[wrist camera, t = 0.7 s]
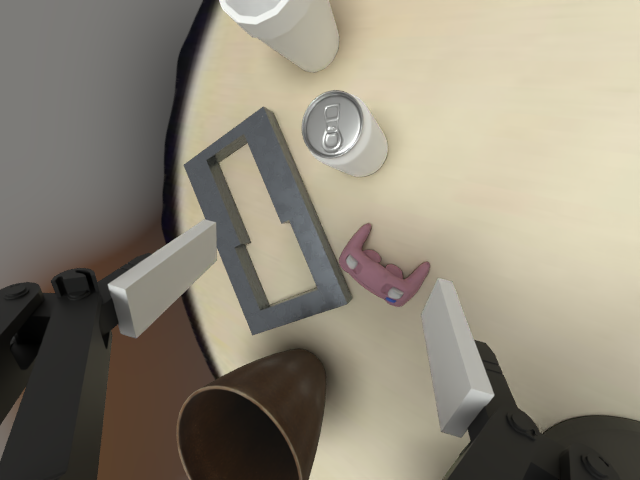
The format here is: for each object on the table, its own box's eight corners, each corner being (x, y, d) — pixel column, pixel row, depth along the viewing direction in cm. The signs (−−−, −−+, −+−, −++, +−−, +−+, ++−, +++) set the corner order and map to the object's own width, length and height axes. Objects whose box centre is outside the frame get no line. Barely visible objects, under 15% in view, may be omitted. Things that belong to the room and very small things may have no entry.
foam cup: (286, 11, 37) (216, -85, 25) (354, -2, 33) (311, -121, 21) (282, 88, 38) (214, 32, 26) (347, 82, 35) (303, 15, 23)
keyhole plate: (352, 298, 37) (347, 304, 35) (261, 328, 43) (252, 335, 41) (273, 112, 39) (263, 106, 36) (196, 167, 45) (183, 164, 43)
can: (338, 178, 36) (298, 166, 25) (337, 127, 36) (296, 91, 25) (388, 175, 34) (368, 160, 23) (388, 121, 33) (368, 77, 22)
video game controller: (353, 242, 38) (327, 269, 33) (366, 217, 35) (339, 243, 30) (416, 285, 36) (397, 321, 31) (436, 263, 33) (418, 299, 28)
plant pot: (246, 373, 46) (158, 452, 31) (285, 303, 41) (205, 356, 27) (319, 438, 42) (258, 564, 27) (370, 369, 38) (332, 473, 23)
